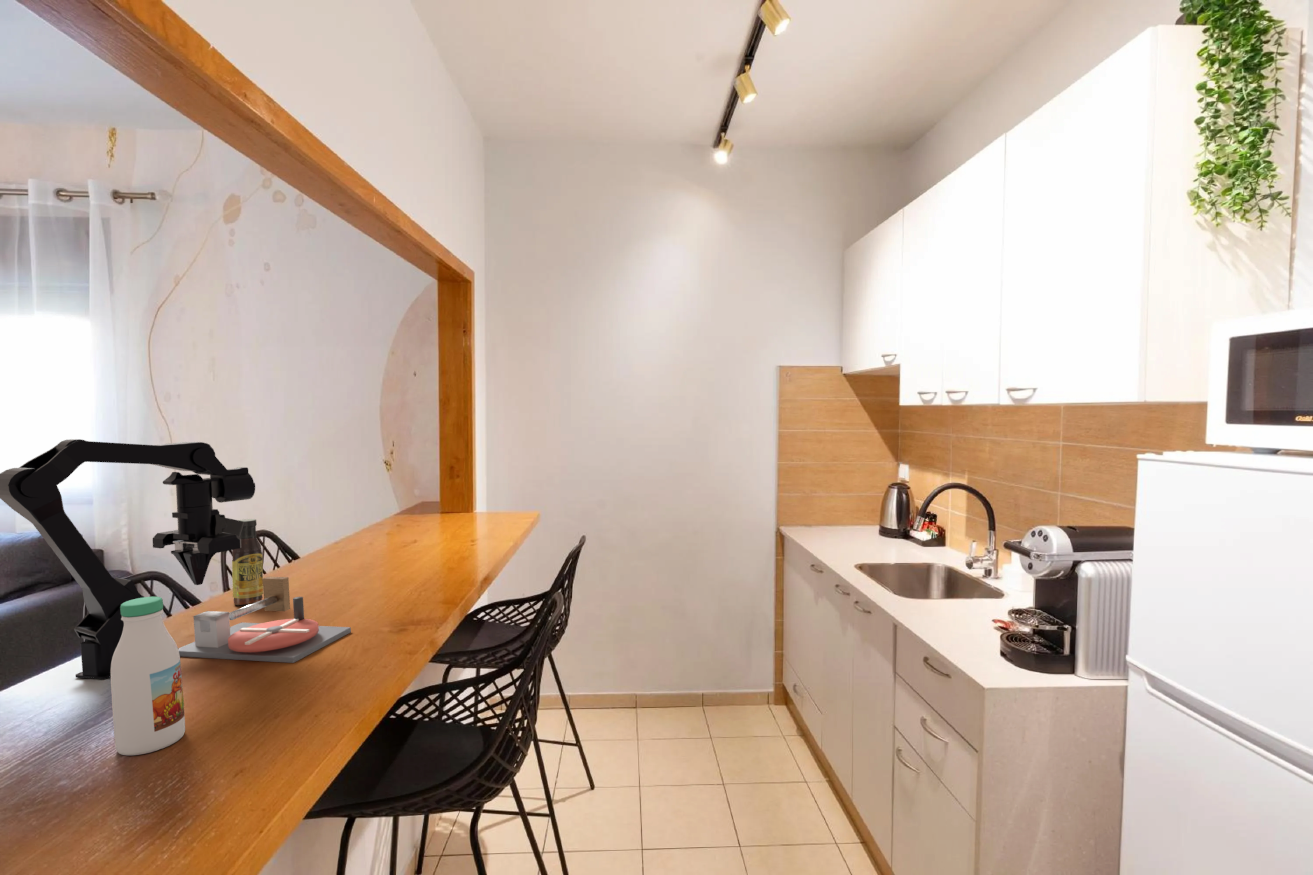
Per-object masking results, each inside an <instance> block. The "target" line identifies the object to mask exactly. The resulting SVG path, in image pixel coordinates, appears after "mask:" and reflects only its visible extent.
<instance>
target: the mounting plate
mask: <svg viewBox="0 0 1313 875" xmlns="http://www.w3.org/2000/svg"><path fill="white" fill-rule="evenodd" d="M229 613H230V612H229V611H216V610H215V611H213V610H207V611H203V612H200V613H198V614H196V615H193V616H192V617H193V629H194V641H193V642H191V643H188V644H185V645H183V646H181V647H178V651H179V655H180V657H183V658H184V657H187V658H201V659H203V658H205V659H220V660H237V661H239V660H240V661H254V662H255V661H256V662H257V661H259V662H272V663H273V662H274V663H289V664H291V663H292V664H294V663H296V662H298V661H299V660H301V659H303V658H305V657H308V656H309V655H312V653H315V652H316V651H318V650H320V649H322V648H324V647H326V646H328V645H330V644H331V643H334V642H335V641H337V640H339V639H341V638H342V637H345V636H346V635H348V634H351V632H352V629H351V627H349V626H331V625H330V626H329V625H328V626H327V625H318V626H319V632H318V633H317V634H316V635H315V636H314V637H312V638H310V639H308V640H306V641H304V642H301V643H299V644H296V645H292V646H289V647H285V648H281V649H275V650H270V651H262V652H237V651H233V650H231V649H229V647H228V638H229V637H230V636H231V635H232V634H234V633H235V632H237V631H239V630H240V629H242V628H247V627H250V626H253V625H257V624H261V623H262V622H239V623H237V624H234V625H232V626H231V624H230V623H231V622H230V620H229Z"/></svg>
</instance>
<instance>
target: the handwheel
mask: <svg viewBox="0 0 1313 875" xmlns="http://www.w3.org/2000/svg"><path fill="white" fill-rule="evenodd" d="M304 606H305V605H304V596H295V597H293V598H292V607H293V610H292V611H293V618H285V619H278V620H277V619H276V620H271V621H267V622H260V623H261V624H257V625H253V626H250V627H247V628H242V629H240V630H239V631H237V632H235V633H234V634H232V635H231V636H230V637H229V638H228V647H229V649H231V650H233V651H237V652H262V651H270V650H275V649H281V648H285V647H289V646H292V645H296V644H299V643H301V642H304V641H306V640H308V639H310V638H312V637H314V636H315V635H316V634H317V633H318V632H319V626H320V625H319V622H318V621H316V620H314V619H310V618H305V610H304Z"/></svg>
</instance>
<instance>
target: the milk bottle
mask: <svg viewBox="0 0 1313 875" xmlns="http://www.w3.org/2000/svg"><path fill="white" fill-rule="evenodd" d="M163 600H164V599H163V598H162V597H161V596H144V597H143V598H137V599H133V600H129V601H127V602H124V603H122V604H121V607H120V611H121V616H122V618H121V620H122V621H124V628H123V632H122V635H121V638H120V641H119V643H118V645H117V647H116V649H115V652H114V654H113V657H112V662H111V677H110V690H111V706H112V708H111V710H112V721H113V734H114V745H115V746H114V747H115V751H116V752H117V753H118V754H119V755H121V756H139V755H144V754H150V753H154V752H156V751H159V750H162V749H164V748H167V747H169V746H171V745H173V744H175V743H176V742H178V741H179V740H180V739H182V738H183V737H184V734H185V731H186V718H185V703H184V702H185V701H184V688H183V676H182V674H183V673H182V663H181V656H180V655H179V651H178V648H179V647H178V645H177V642H176V641H175V640H174V638H173V637H172V635H171V633H169V631H168V629H167V627H166V626H165V622H164V621H163V617H162V616H163V614H164V601H163Z"/></svg>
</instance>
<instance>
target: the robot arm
mask: <svg viewBox="0 0 1313 875" xmlns="http://www.w3.org/2000/svg"><path fill="white" fill-rule="evenodd" d="M87 462H89V463H109V464H110V463H111V464H112V463H113V464H134V465H135V464H137V465H138V464H139V465H153V466H158V467H160V468H161V467H162V468H165V469H172V470H177V471H173V472H171V474H170V475H169V476H167V478H165V479H164V480H163V481H162V485H166V486H167V485H169V486H175V491H176V493H175V494H176V511H174V512H171V518H172V519H173V518H174V519H177V529H175V530H174V529H173V530H168V531H163V532H157V533H155V535H153V537H152V548H153V549H165V547H166V546H173V545H174V550H170V554H171V555H173V556H174V557H175V558H176V560H177V561H178V562H179V564H180V565H181V566H182V568H183V569H184V572H185V573H186V574H187V576H188V577H189V579H190V580H191V582H192V583H193V584H194V586H200V585H202V584H203V583H204V581H205V577H206V574H207V571H208V567H209V565H210V563H211V560H212V558H213V557H214V555H216V554H219V553H223V552H228V551H233V550H234V549H239V548H241V538H240V534H241V531H242V528H243V524H244V521H239V520H240V519H233V518H229V517H226V514H222V513H221V514H220V511H219V510H218V508H217V509H215V508H213V499H214V500H216V502H217V503H228V502H237V501H244V500H245V501H247V500H251V499H252V498H253V497H254V496H255V492H256V483H255V482H254V479H253V477H252V475H251V474H250V473H249V468H248V467H245V466H242V467H235V468H227V467H226V466H225V465H224V464H223V463H222V462H221V461H220V460H219V459H218V458H217V456H216V452H215V450H214V448H213V447H212V446H211V444H209V443H207V442H203V441H202V442H201V441H199V442H198V441H197V442H195V441H194V442H193V441H181V442H172V443H169V442H168V443H161V444H154V445H153V444H141V443H140V444H139V443H138V444H137V443H121V442H103V441H90V440H85V439H77V438H75V439H72V438H71V439H64V440H61V441H60V442H59V443H57V444H56V445H55V446H54V447H52V448H50V449H49V450H47V451H44V452H43V453H41V454H39V455H38V456H36V457H34V458H32V459H30V460H28V461H27V462H25V463H24V464H22V465H20V466H19V467H12V468H8V469H6V470H4V471H2V472H0V500H1V501H2V502H3V503H5V504H6V505H7V506H8V507H9V508H11V510H13V511H14V512H16V513H17V514H18V515H20V516H21V517H23V518H24V519H26V520H27V521H29V522H30V523H31V525H33V527H34V528H35V529H36V531H37V532H38V533H39V534H40V536H41V537H42V538H43V540H44V541H45V542H46V543H47V545H48V546H49V547H50V548H51V550H52V551H53V553H54V554H55V555H56V557H57V558H58V559H59V560H60V562H61V563H62V565H63V566H64V567H65V568H66V569H67V571H68V572H69V573H70V575H71V576H72V578H73V579H74V580H75V582H76V583H77V584H78V585H79V587H80V589H81V590H82V596H83V603H84V605H85V607H86V610H87V611H88V612H87V613H86V614H85V616H83V617H82V618H81V620H80V621H79V622H78V623H77V624H76V625H75V626H74V628H73V630H74V632H75V633H76V636H77V637H78V638H79V639H84V641H82V642H80V644H79V645H80V654H81V655H80V658H81V667H82V668H81V670H82V671H81V672H80V671H79V673H75V678H80V679H83V678H84V679H95V680H96V679H97V680H105V679H109V678H111V662H112V657H113V654H114V652H115V649H116V647H117V645H118V643H119V641H120V638H121V635H122V632H123V628H124V621H122V620H121V618H122V616H121V611H120V607H121V604H122V603H124V602H127V601H129V600H133V599H137V598H143V597H145V596H144V595H142V594H141V593H140V592H139V591H138V589H137V586H136V584H135V582H134V581H133V580H131V579H126V578H121V577H115V578H114V577H113V576H112V575H111V573H110V572H109V571H108V569H107V568H106V567H105V565H104V564H103V563H102V561H101V560H100V559H99V557H98V556H97V554H96V553H95V552H94V550H93V549H92V547H91V546H90V545H89V544H88V542H87V541H86V539H85V538H84V537H83V535H82V534H81V533H80V531H79V530H78V528H77V527H76V525H75V524H74V523H73V521H72V520H71V519H70V517H69V516H68V514H67V513H66V511H65V508H64V503H63V498H62V494H61V492H60V489H59V487H58V485H59V484H61V483H62V482H64V481H65V480H67V479H68V478H69V477H70V476H71V475H72V474H73V472H75V471H76V470H77V469H78V468H79V467H80V466H81V465H83V464H84V463H87ZM179 471H182V472H192V473H194V474H182V473H181V472H179ZM201 475H202V476H203V475H204V476H210V477H204V478H203V477H202V476H201Z"/></svg>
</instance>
